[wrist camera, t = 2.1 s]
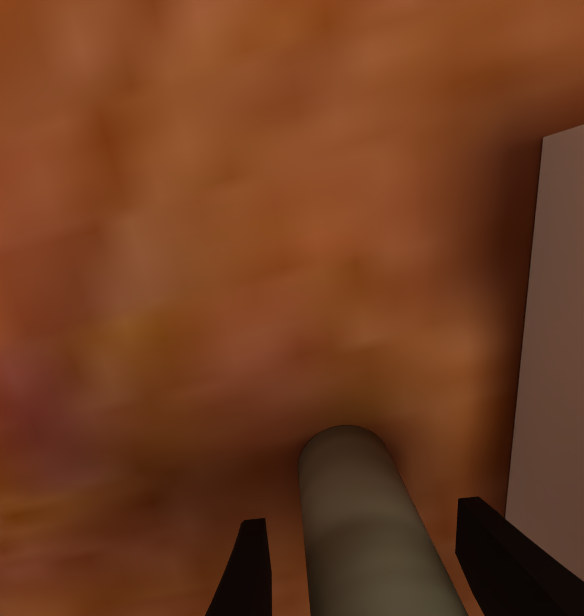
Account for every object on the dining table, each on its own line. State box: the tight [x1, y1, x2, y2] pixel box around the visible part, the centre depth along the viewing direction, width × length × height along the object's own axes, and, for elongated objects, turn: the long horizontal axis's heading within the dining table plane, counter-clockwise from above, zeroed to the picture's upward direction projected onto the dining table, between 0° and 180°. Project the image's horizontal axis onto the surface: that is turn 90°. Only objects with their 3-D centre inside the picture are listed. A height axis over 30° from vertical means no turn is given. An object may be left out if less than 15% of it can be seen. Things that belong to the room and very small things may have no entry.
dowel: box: [298, 425, 468, 616], centre depth 9 cm, size 4×4×8 cm
